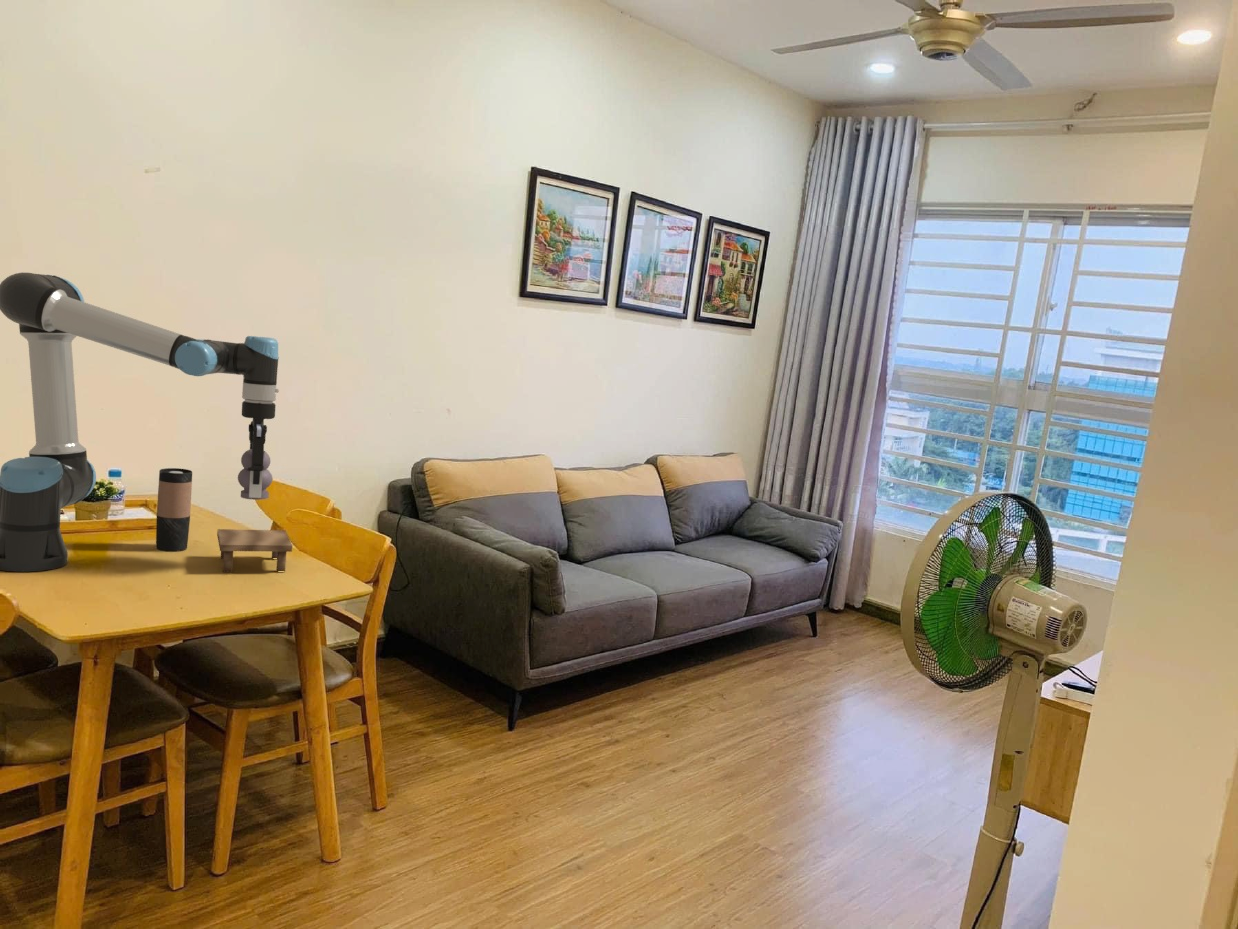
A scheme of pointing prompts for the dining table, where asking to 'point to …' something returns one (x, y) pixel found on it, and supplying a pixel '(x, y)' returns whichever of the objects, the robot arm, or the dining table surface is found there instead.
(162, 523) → the travel mug
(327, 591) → the dining table surface
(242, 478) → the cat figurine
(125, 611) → the dining table surface
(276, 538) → the footstool
